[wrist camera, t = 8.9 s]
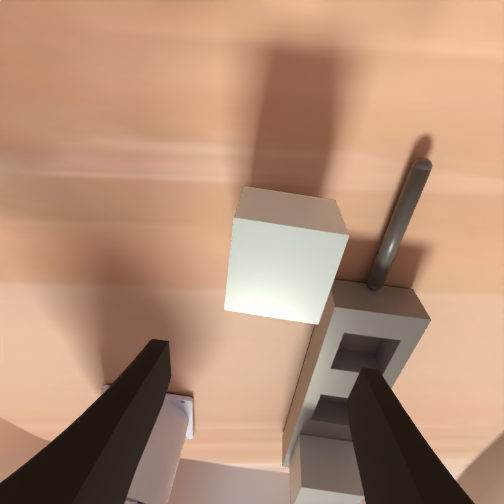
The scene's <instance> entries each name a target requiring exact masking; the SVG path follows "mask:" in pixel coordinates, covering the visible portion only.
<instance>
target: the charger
mask: <svg viewBox="0 0 504 504" xmlns="http://www.w3.org/2000/svg"><path fill="white" fill-rule="evenodd" d="M349 236H350V235H349V233H348V230H347V228H346V225H345V223H344V220H343V218H342V215H341V213H340V210H339V208H338V205H337V203H336V200H331V199H325V198H319V197H312V196H306V195H299V194H293V193H286V192H280V191H274V190H267V189H261V188H254V187H248V186H244V188H243V191H242V194H241V197H240V200H239V203H238V206H237V209H236V212H235V215H234V221H233V230H232V240H231V249H230V259H229V268H228V278H227V287H226V297H225V306H224V310H229V311H235V312H241V313H248V314H254V315H260V316H267V317H273V318H279V319H285V320H292V321H298V322H304V323H311V324H317V325H318V324H319V321H320V318H321V315H322V313H323V310H324V307H325V304H326V301H327V298H328V296H329V293H330V290H331V287H332V284H333V281H334V278H335V276H336V273H337V270H338V267H339V264H340V261H341V258H342V256H343V253H344V250H345V247H346V244H347V241H348V238H349Z"/></svg>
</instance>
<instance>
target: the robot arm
mask: <svg viewBox="0 0 504 504" xmlns="http://www.w3.org/2000/svg"><path fill="white" fill-rule="evenodd" d="M170 378H171V365H170V352H169V341H164V340H156V339H152V340H150V341H149V342H148V344H147V345H146V346H145V347H144V349H143V350H142V351H141V352H140V353H139V355H138V356H137V357H136V358H135V359H134V360H133V362H132V363H131V364H130V365H129V366H128V367H127V368H126V370H125V371H124V372H123V373H122V374H121V375H120V376H119V377H118V378H117V379H116V380H115V381H114V383H113V384H112V385H105V386H103V388H102V392H103V394H102V395H101V396H100V397H99V398H98V399H97V400H96V401H95V402H94V403H93V404H92V405H91V406H90V407H89V408H88V409H87V410H86V411H85V412H84V413H83V414H82V415H81V416H80V417H79V418H78V419H76V420H75V421H74V422H73V423H72V424H71V425H70V426H69V427H68V428H67V429H66V430H64V431H63V432H62V433H61V434H60V435H59V436H58V437H56V438H55V439H54V440H53V441H52V442H51V443H50V444H48V445H47V446H46V447H45V448H44V449H42V450H41V451H40V452H39V453H37V454H36V455H35V456H34V457H33V458H31V459H30V460H29V461H28V462H27V463H25V464H24V465H23V466H22V467H20V468H19V469H18V470H17V471H15V472H14V473H13V474H11V475H10V476H9V477H7V478H6V479H5V480H3V481H2V482H1V483H0V504H168V500H169V496H170V492H171V488H172V485H173V481H174V477H175V474H176V470H177V466H178V462H179V459H180V455H181V451H182V447H183V444H184V440H185V439H193V436H194V418H193V399H192V398H191V397H188V396H181V395H174V394H167V393H166V392H167V389H168V385H169V382H170ZM347 405H348V416H349V425H350V432H351V437H352V442H353V446H354V451H355V456H356V460H357V465H358V469H359V474H360V478H361V483H362V487H363V492H364V497H365V501H366V504H474V503H473V501H472V500H471V499H470V498H469V496H468V495H467V494H466V493H465V492H464V490H463V489H462V488H461V487H460V485H459V484H458V483H457V482H456V480H455V479H454V478H453V477H452V475H451V474H450V473H449V471H448V470H447V469H446V467H445V466H444V465H443V463H442V462H441V461H440V459H439V458H438V457H437V455H436V454H435V453H434V451H433V450H432V449H431V447H430V446H429V444H428V443H427V442H426V440H425V439H424V437H423V436H422V435H421V433H420V432H419V430H418V429H417V427H416V426H415V424H414V423H413V422H412V420H411V419H410V417H409V416H408V414H407V413H406V411H405V410H404V408H403V407H402V405H401V404H400V402H399V400H398V399H397V397H396V396H395V394H394V393H393V391H392V390H391V388H390V386H389V385H388V383H387V382H386V380H385V379H384V377H383V375H382V374H381V372H380V371H379V370H377V369H370V368H361V370H360V373H359V375H358V377H357V379H356V381H355V384H354V386H353V388H352V390H351V392H350V394H349V397H348V399H347Z"/></svg>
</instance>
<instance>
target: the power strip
mask: <svg viewBox="0 0 504 504" xmlns="http://www.w3.org/2000/svg"><path fill="white" fill-rule="evenodd" d="M431 169H432V163H431V161H430V160H429V159H427V158H419V159H417V160H415V161H414V162H413V164H412V166H411V168H410V171H409V174H408V176H407V179H406V181H405V184H404V187H403V189H402V192H401V194H400V197H399V200H398V202H397V205H396V207H395V210H394V213H393V215H392V218H391V220H390V223H389V226H388V228H387V231H386V233H385V236H384V239H383V241H382V244H381V246H380V249H379V252H378V254H377V257H376V260H375V262H374V265H373V267H372V270H371V273H370V275H369V278H368V280H367V283H360V282H352V281H344V280H337V279H334V281H333V284H332V287H331V290H330V293H329V296H328V298H327V301H326V304H325V307H324V310H323V313H322V315H321V318H320V321H319V324H318V325H317V324H315V327H314V331H313V334H312V337H311V341H310V344H309V348H308V351H307V354H306V358H305V361H304V365H303V368H302V371H301V375H300V378H299V381H298V385H297V388H296V392H295V395H294V398H293V402H292V405H291V409H290V412H289V415H288V419H287V422H286V426H285V429H284V432H283V450H282V466H283V467H289V468H290V504H360V503H361V501H362V500H363V499H364V492H363V487H362V483H361V478H360V474H359V469H358V465H357V460H356V456H355V451H354V446H353V442H352V437H351V432H350V425H349V416H348V405H347V399H348V397H349V394H350V392H351V390H352V388H353V386H354V384H355V381H356V379H357V377H358V375H359V373H360V370H361V368H370V369H377V370H379V371H380V372H381V374H382V375H383V377H384V379H385V380H386V382H387V383H388V385H389V386H390V388H392V386H393V385H394V383H395V381H396V379H397V378H398V376H399V374H400V373H401V371H402V369H403V367H404V366H405V364H406V362H407V361H408V359H409V357H410V355H411V354H412V352H413V350H414V348H415V347H416V345H417V343H418V342H419V340H420V338H421V336H422V335H423V333H424V331H425V330H426V328H427V326H428V324H429V323H430V321H431V319H430V317H429V315H428V314H427V312H426V310H425V309H424V307H423V305H422V304H421V302H420V300H419V298H418V297H417V295H416V293H415V292H414V290H413V289H406V288H398V287H390V286H383V283H384V281H385V278H386V276H387V273H388V271H389V269H390V266H391V264H392V262H393V259H394V257H395V255H396V252H397V250H398V247H399V245H400V243H401V240H402V238H403V236H404V233H405V231H406V229H407V226H408V224H409V221H410V219H411V217H412V214H413V212H414V210H415V207H416V205H417V203H418V200H419V198H420V195H421V193H422V191H423V188H424V186H425V184H426V181H427V179H428V176H429V174H430V172H431Z"/></svg>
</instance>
